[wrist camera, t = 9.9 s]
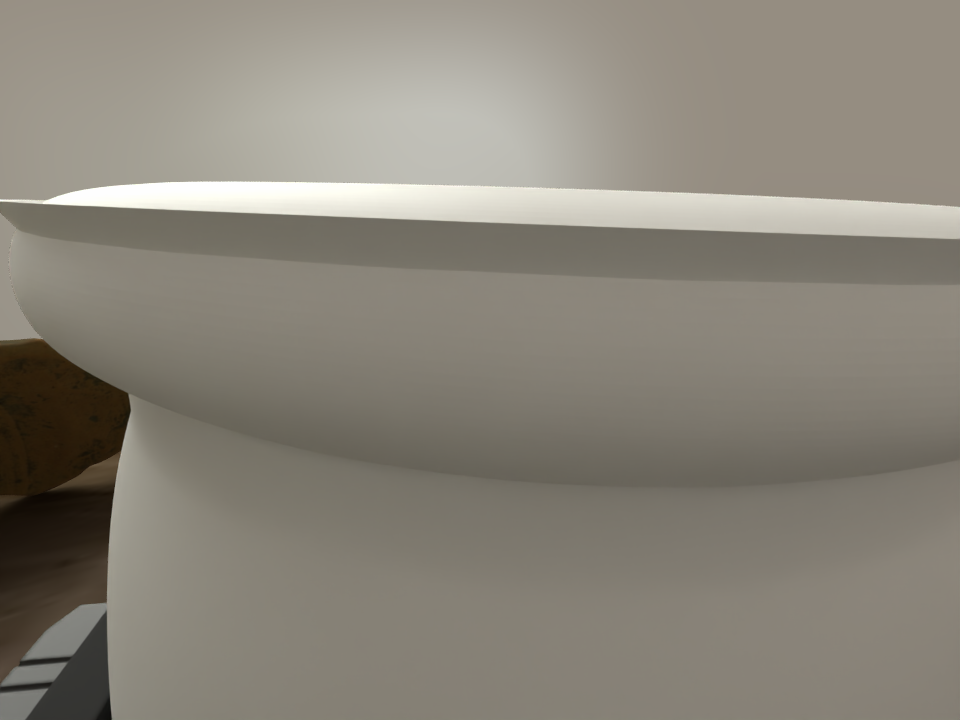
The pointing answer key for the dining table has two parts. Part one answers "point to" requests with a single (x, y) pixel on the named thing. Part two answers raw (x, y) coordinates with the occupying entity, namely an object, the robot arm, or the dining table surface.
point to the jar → (517, 449)
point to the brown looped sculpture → (53, 418)
